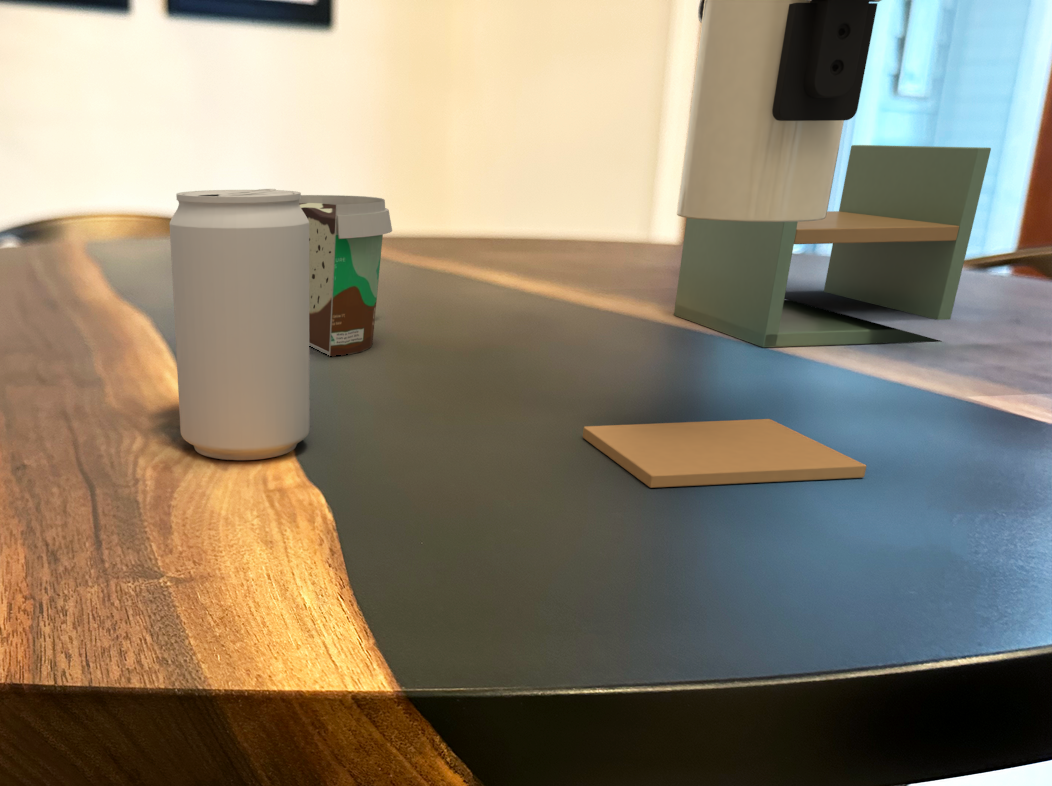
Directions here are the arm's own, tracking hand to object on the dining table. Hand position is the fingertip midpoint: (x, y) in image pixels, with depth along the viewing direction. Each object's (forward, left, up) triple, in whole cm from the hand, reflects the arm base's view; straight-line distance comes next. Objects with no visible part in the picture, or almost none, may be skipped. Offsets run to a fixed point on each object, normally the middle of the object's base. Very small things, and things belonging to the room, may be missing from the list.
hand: (766, 116), depth 42 cm
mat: (0, 0, -15) cm, 15 cm away
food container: (+13, -31, -15) cm, 37 cm away
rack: (-23, -31, -15) cm, 41 cm away
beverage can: (+22, -5, -15) cm, 27 cm away
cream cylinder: (0, 0, -4) cm, 4 cm away
